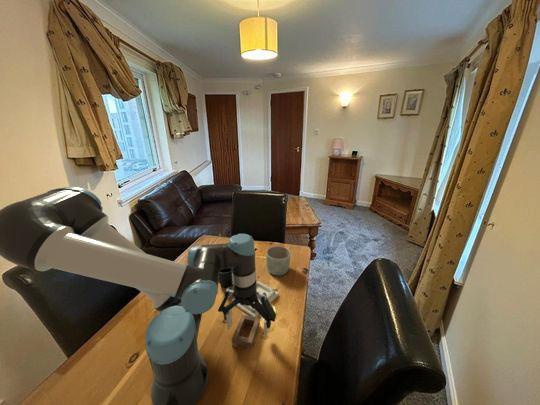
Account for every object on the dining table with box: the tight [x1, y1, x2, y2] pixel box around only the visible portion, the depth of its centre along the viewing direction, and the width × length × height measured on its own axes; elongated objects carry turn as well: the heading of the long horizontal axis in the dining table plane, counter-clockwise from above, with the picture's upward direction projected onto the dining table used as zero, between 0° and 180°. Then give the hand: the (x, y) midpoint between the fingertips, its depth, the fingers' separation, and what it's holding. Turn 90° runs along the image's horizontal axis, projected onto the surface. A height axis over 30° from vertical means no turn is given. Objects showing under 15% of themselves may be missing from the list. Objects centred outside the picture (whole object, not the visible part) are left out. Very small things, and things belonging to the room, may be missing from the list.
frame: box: [231, 314, 261, 352], centre depth 76 cm, size 10×7×4 cm
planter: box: [265, 245, 292, 276], centre depth 110 cm, size 12×12×11 cm
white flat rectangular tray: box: [231, 279, 279, 318], centre depth 93 cm, size 16×13×3 cm
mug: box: [218, 268, 233, 290], centre depth 99 cm, size 8×12×10 cm
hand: (247, 329), depth 76 cm, fingers open, 13 cm apart
